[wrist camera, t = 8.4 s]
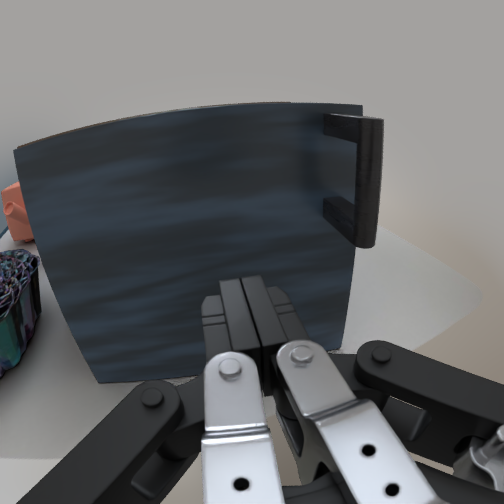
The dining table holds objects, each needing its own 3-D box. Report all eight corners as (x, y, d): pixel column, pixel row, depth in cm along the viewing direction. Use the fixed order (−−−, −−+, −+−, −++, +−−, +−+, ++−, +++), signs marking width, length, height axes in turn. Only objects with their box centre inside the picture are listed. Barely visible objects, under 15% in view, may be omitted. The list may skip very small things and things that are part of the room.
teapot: (57, 252, 56) (36, 173, 48) (-9, 262, 54) (-30, 194, 46) (93, 212, 78) (81, 152, 70) (33, 223, 76) (20, 168, 68)
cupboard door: (364, 386, 26) (411, 110, 15) (90, 427, 22) (-33, 168, 11) (337, 342, 31) (356, 104, 21) (99, 376, 28) (18, 148, 17)
